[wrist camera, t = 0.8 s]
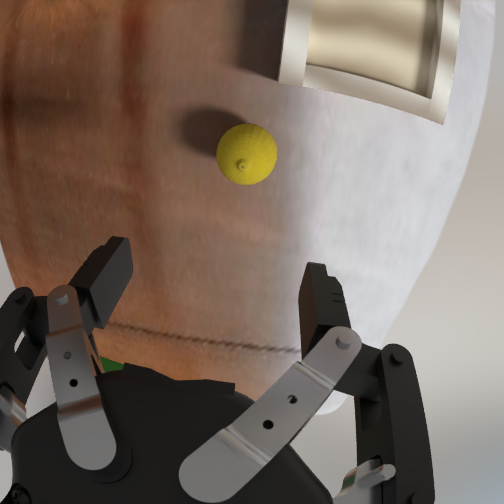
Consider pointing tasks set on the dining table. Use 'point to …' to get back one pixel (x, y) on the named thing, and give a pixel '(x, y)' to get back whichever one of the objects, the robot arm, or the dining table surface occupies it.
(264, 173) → the lemon
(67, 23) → the dining table surface
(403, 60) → the birch base
